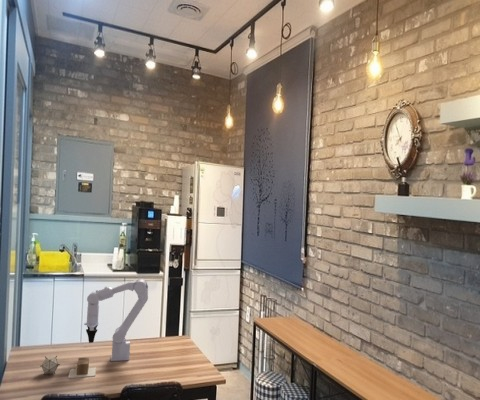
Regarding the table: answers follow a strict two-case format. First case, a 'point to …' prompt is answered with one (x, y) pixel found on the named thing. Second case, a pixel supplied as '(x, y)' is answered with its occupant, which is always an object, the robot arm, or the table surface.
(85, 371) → the walnut block
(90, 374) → the mat
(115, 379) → the table surface
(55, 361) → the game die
